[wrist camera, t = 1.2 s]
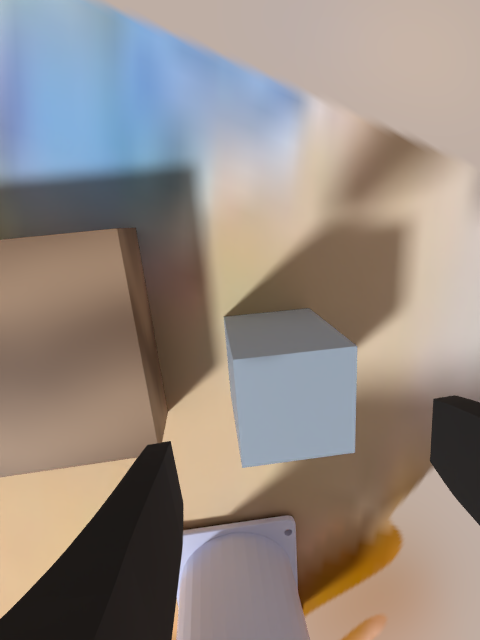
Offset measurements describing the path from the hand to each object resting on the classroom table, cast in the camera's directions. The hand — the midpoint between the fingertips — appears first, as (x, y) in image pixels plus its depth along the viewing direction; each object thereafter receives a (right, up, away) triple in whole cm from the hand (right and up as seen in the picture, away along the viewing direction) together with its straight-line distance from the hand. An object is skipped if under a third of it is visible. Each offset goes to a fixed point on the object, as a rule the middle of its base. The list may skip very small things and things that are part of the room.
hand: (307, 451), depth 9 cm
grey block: (0, +2, +10) cm, 10 cm away
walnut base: (-11, +3, +8) cm, 14 cm away
